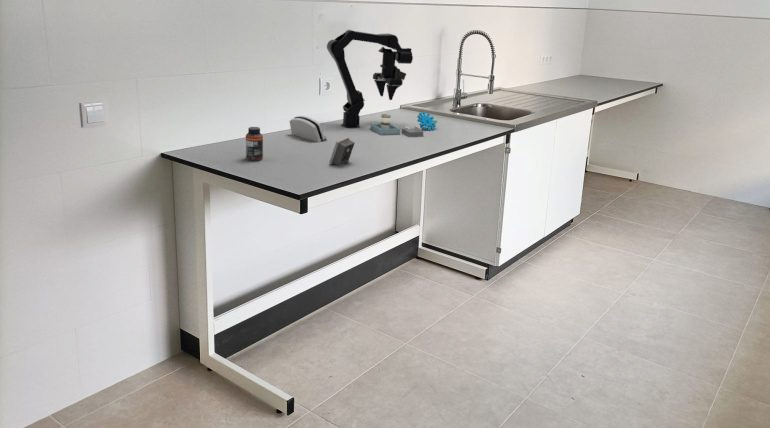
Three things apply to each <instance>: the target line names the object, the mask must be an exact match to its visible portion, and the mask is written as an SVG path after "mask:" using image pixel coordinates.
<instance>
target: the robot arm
mask: <svg viewBox="0 0 770 428" xmlns="http://www.w3.org/2000/svg"><path fill="white" fill-rule="evenodd" d="M352 41H359V42H366V43H373V44H379V45H381V48H380V49H378V52H379V53H381V54H382V61H381V64H380V66H379V67H380V68H381V72H374V73H373V74H372V79H373V80H374V83H375V85H376V88H377V91H378V93H379V95H380V97H384V93H385V88H386V91H387V94H388V100H389V101H392V100H393V97H394V96H395V93H396V91H397V89H398V88H400V87H401V86H402V85H403V81H405V78H406V76H407V73H406V72H404V71H401V69H400V68H399V67H398V66H397V65H396V62H397V63H398V64H401V65H402V64H407V65H410V64H411V65H412V63H413V61H414V60H413V59H414V57H413V53H412V48H410V47H405V48H404V47H401V45H400V43H399V38H398V36H397V35H395V34H392V33H368V32H364V31H355V30H352V29H346V31H344V32H343V33H342V34H340V35H338V36H337V37H335V39H330V40H328V42H327V44H326V49H327V51H328V53H329V55H330V56H331V58H332V60H333V61H334V62H335V65H336V67H337V70H338V72H339V75H340V77H341V80H342V82H343V85H344V88H345V90H346V100H347V102H345V103H344V105H343V106H342V109H343V119H342V123H341V126H343V127H345V128H346V129H348V128H349V129H351V128H360V127H361V126H360V113H361V110H362V109H364V106H365V101H366V100H365V99H364V95H363V92H361V91H360V90H357V89H356V86H355V83H354V81H353V78H352V75H351V73H350V70H349V67H348V65H347V62H346V56H345V49H346V47H348V46H349V45H350V43H351V42H352ZM385 47H386V48H385ZM385 86H386V87H385Z"/></svg>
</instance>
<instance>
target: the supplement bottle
mask: <svg viewBox="0 0 770 428" xmlns="http://www.w3.org/2000/svg"><path fill="white" fill-rule="evenodd" d="M263 138H264V137H263V134H262V133H261V129H260V127H258V126H249V127H248V132H247V133H246V134H245V159H246V160H248V161H251V162H252V161H254V162H259V161H261V160H263V158H264V139H263Z"/></svg>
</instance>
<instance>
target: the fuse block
mask: <svg viewBox="0 0 770 428" xmlns="http://www.w3.org/2000/svg"><path fill="white" fill-rule="evenodd" d="M422 129H423V127H422V128H421V127H420V126H418V125H415V127H414V128H410V127H408V126H403V128H401V134H402V135H404V136H406V137H408V138H416V137H417V138H418V137H419V138H420V137H424V131H422Z"/></svg>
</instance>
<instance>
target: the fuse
mask: <svg viewBox="0 0 770 428" xmlns="http://www.w3.org/2000/svg"><path fill="white" fill-rule="evenodd" d="M380 115H381V117H380V124H381V129H390V124H391V119H392V118H391V117H392V115H391V114H387V113H386V114H385V113H384V114H380Z"/></svg>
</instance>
